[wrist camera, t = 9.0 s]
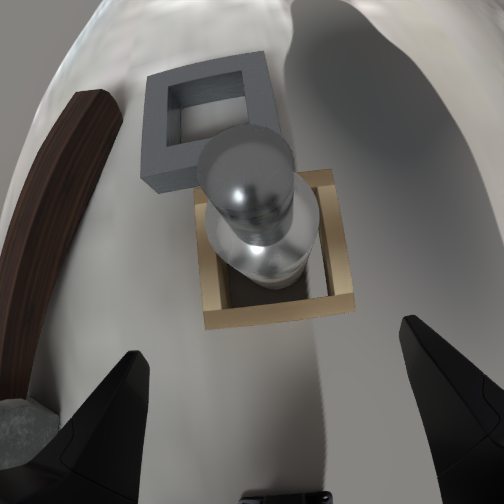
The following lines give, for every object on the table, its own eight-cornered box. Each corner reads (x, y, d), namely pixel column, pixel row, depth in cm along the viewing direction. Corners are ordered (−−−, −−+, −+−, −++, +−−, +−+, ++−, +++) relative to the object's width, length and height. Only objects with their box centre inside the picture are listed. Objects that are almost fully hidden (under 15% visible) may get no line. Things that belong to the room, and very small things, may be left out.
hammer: (109, 139, 27) (25, 432, 19) (53, 62, 17) (-65, 443, 8) (149, 141, 27) (62, 457, 18) (97, 52, 16) (-31, 484, 8)
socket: (285, 172, 20) (284, 151, 17) (158, 193, 21) (140, 177, 18) (267, 76, 22) (263, 50, 19) (160, 97, 23) (147, 76, 20)
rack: (346, 310, 18) (355, 311, 15) (217, 326, 19) (205, 329, 16) (326, 187, 20) (331, 168, 17) (206, 205, 21) (193, 188, 18)
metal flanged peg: (310, 284, 19) (350, 238, 6) (246, 292, 19) (163, 263, 7) (301, 222, 20) (314, 87, 7) (239, 230, 20) (162, 113, 7)
